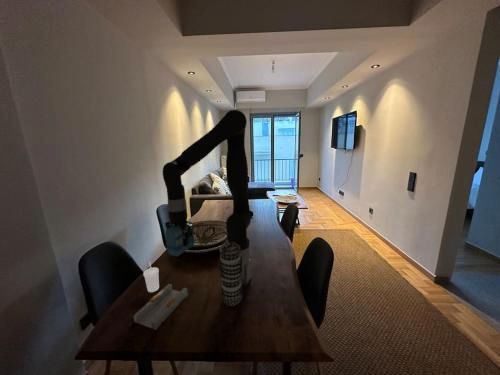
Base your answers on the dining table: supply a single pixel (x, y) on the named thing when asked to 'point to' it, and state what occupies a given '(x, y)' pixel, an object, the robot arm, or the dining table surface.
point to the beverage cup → (152, 278)
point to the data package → (177, 241)
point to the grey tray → (160, 307)
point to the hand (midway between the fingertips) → (181, 244)
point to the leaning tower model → (231, 273)
